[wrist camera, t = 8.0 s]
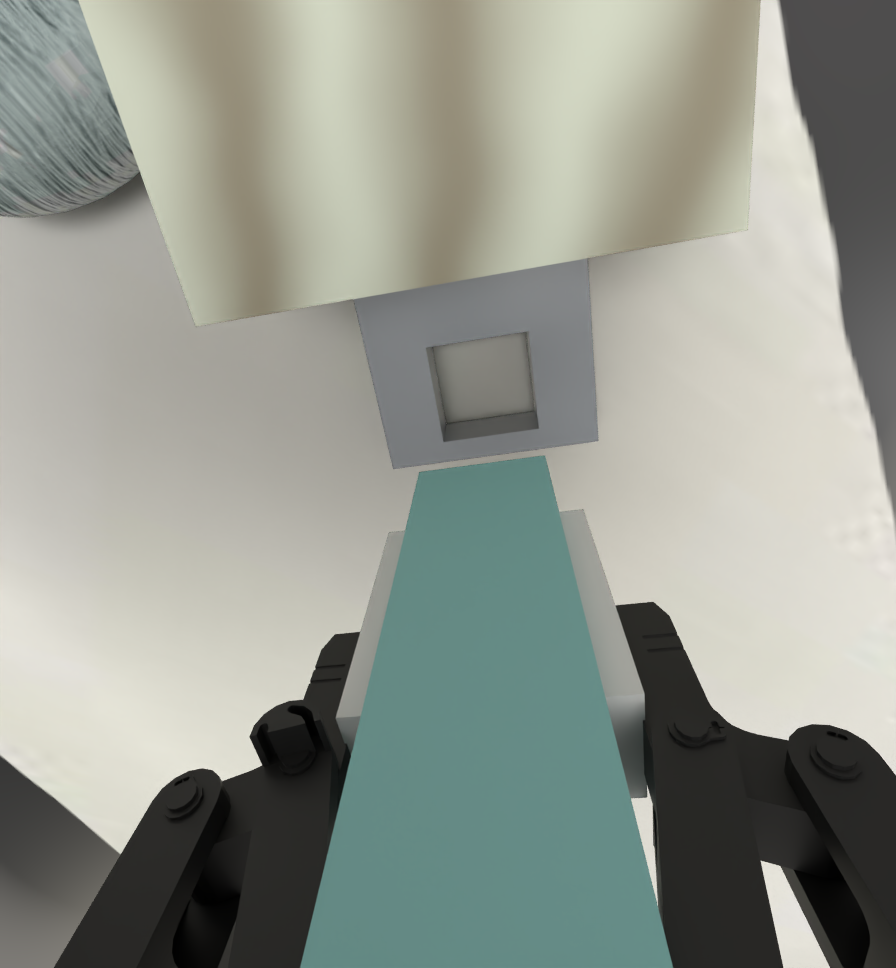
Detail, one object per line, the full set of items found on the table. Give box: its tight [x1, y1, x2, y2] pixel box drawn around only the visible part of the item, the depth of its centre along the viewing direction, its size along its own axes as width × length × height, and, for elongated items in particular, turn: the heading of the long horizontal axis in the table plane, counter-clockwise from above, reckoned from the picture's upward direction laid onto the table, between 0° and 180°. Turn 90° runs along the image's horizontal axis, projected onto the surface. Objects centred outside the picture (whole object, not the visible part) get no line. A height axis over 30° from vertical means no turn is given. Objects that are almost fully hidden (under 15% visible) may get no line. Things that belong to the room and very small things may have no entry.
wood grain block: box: [78, 0, 761, 327], centre depth 22 cm, size 18×10×14 cm, turn 100°
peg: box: [300, 456, 673, 968], centre depth 12 cm, size 4×4×14 cm
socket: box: [354, 258, 598, 469], centre depth 31 cm, size 12×14×3 cm
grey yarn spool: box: [0, 0, 140, 217], centre depth 25 cm, size 14×10×10 cm
